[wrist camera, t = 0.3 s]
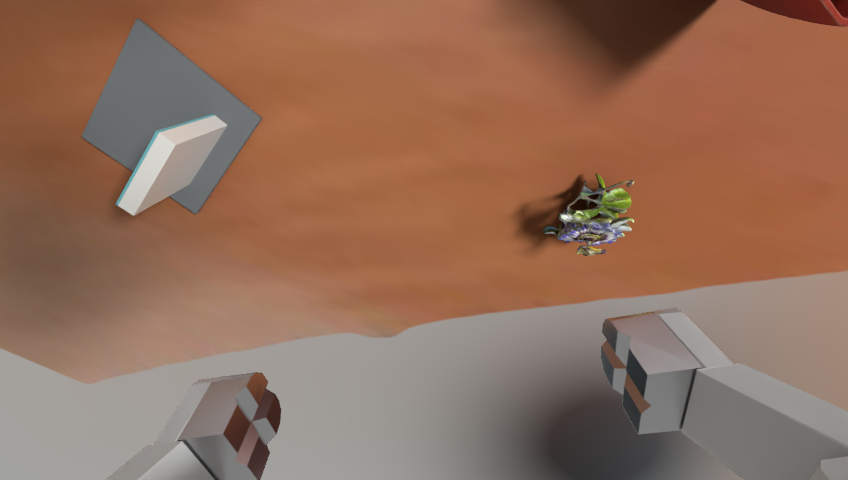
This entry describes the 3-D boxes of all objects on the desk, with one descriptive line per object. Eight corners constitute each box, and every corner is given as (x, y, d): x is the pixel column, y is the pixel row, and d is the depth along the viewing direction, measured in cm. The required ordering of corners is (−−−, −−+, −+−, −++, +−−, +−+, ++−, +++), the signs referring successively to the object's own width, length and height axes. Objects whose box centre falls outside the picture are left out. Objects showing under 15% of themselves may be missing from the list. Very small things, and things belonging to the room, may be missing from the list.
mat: (262, 118, 52) (260, 119, 52) (197, 212, 59) (195, 214, 59) (139, 19, 47) (136, 18, 46) (84, 135, 54) (81, 136, 53)
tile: (227, 125, 52) (175, 144, 42) (189, 184, 57) (133, 215, 46) (212, 113, 52) (156, 130, 41) (175, 174, 56) (115, 204, 45)
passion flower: (562, 213, 64) (536, 252, 57) (572, 155, 58) (544, 191, 50) (633, 231, 59) (614, 277, 51) (653, 170, 52) (635, 212, 45)
